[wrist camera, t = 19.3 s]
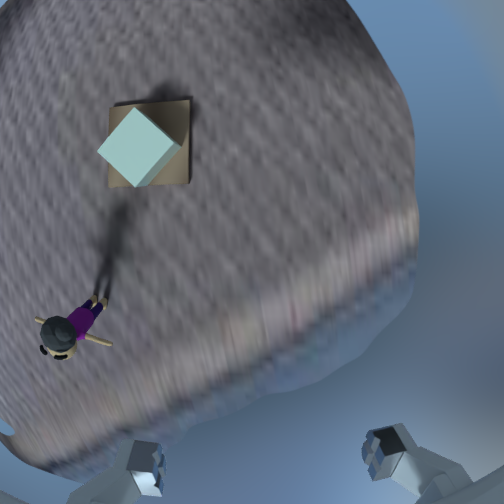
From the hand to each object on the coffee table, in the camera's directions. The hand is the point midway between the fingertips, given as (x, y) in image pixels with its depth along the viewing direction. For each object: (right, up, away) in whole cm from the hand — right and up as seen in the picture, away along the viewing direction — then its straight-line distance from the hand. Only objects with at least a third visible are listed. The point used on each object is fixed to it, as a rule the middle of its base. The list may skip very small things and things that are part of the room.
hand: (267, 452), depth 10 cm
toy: (-21, +2, +28) cm, 35 cm away
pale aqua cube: (-13, +20, +23) cm, 33 cm away
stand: (-13, +21, +24) cm, 34 cm away
